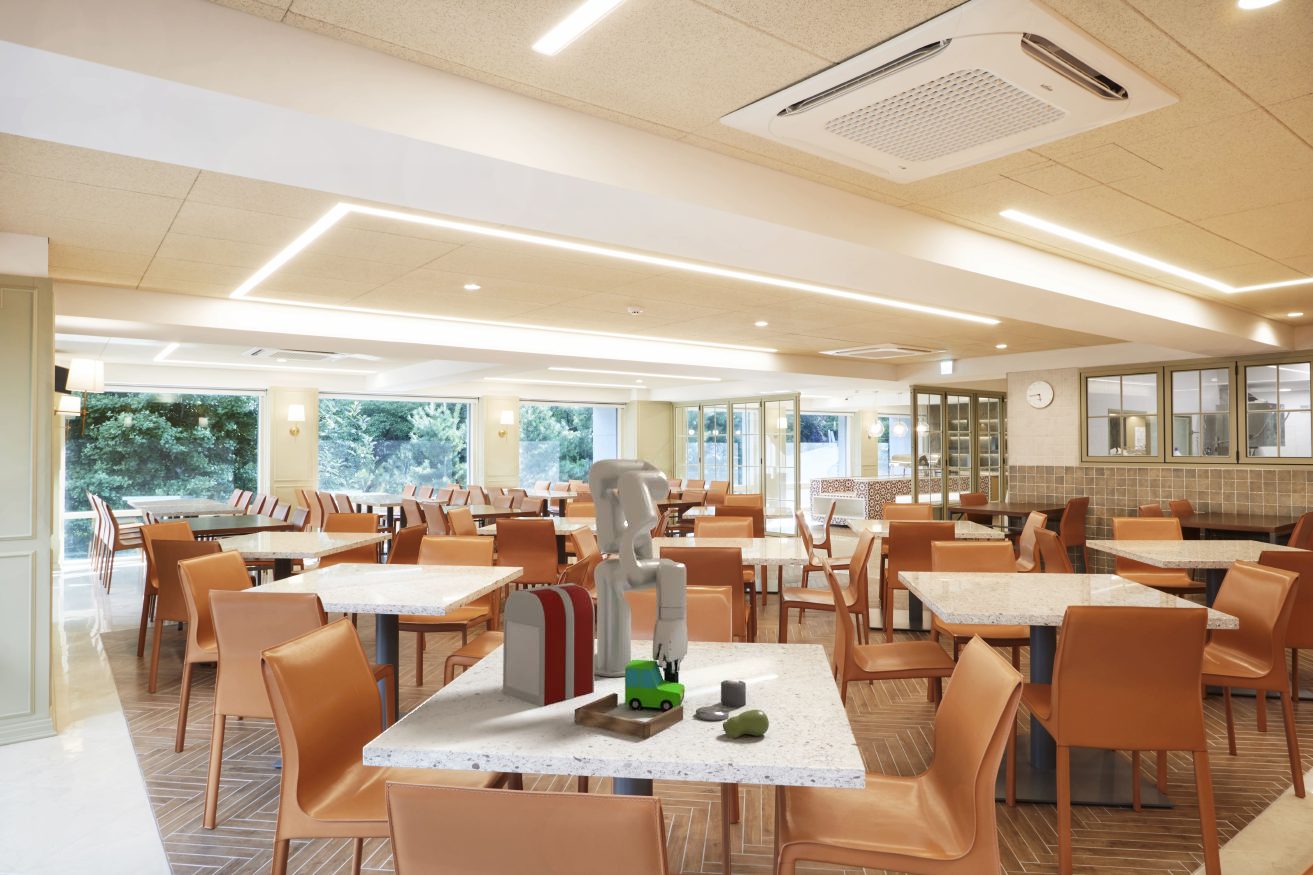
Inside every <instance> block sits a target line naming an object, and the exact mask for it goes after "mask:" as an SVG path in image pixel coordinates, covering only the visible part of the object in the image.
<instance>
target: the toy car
mask: <svg viewBox="0 0 1313 875" xmlns="http://www.w3.org/2000/svg"><path fill="white" fill-rule="evenodd" d="M684 685H685V684H684V683H680V682H679V683H674V682H669V681H665V680H664V677H663V674H662V672H661V670H660V667H658V660H649V659H648V660H646V659H645V660H644V659H631V662H630V663H629V664H628V665H627V666H626V667H625V676H624V706H627V707H629V708H630V709H631V710H632V711H634V712H637V711H640V710H641V709H642V707H643V708H660V710H661V711H662V713H664V712H666V711H668V710H670V709H672V708H674V707H676V706H678V705H680V706H682V703H683V701H684V699H685V692H686V687H685V686H684Z"/></svg>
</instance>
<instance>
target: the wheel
mask: <svg viewBox="0 0 1313 875" xmlns="http://www.w3.org/2000/svg"><path fill="white" fill-rule="evenodd" d="M746 687H747V683H746V682H744V681H743V680H738V679H731V678H730V679H728V680H727V679H726V680H722V681H721V682H720V705H721V706H723V707H725V708H735V709H737V708H743V707H745V706H746V705H747V704H746V701H747V699H746V698H747V695H746V693H747V692H746V691H747V690H746Z"/></svg>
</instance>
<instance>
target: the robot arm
mask: <svg viewBox="0 0 1313 875" xmlns="http://www.w3.org/2000/svg"><path fill="white" fill-rule="evenodd" d="M587 478H588V479H587V480H588V481H587V482H588V489H589V493H590V495H591V498H592V501H593V505H594V511H595V514H594V515H595V516H594V517H595V528H596V529H595V531H596V543H597V547H598V549H599V551H600V552H601V553H603V554H605V555H618V558H609V559H605V560H602V561H600V562H598V563H597V565H596V566H595V568H594V571H593V577H594V584H595V589H596V590H595V591H596V605H597V606H596V607H597V609H596V611H597V615H596V616H597V623H596V624H597V625H596V626H597V627H596V628H597V631H596V632H597V633H596V636H597V637H596V638H597V640H596V641H597V642H596V646H597V647H596V651H597V652H596V653H595V652H594V675H597V676H600V677H606V678H607V677H611V678H612V677H613V678H615V677H616V678H618V677H625V667H626V666H627V665H628V664H629V663H630V662H631V661H632V659H631V658H632V657H631V656H632V655H631V653H632V651H631V650H632V646H631V645H632V642H631V641H632V629H631V628H632V611H631V610H632V609H631V605H630V603H629V601H628V600H627V599H626V597H625V596H624V593H629V592H630V593H631V592H641V591H642V592H643V591H647V590H652V589H653V590H654V589H656V590H655V592H656V593H655V594H656V595H655V596H656V597H655V598H656V599H655V607H656V609H655V610H656V611H655V613H656V616H655V619H656V620H655V621H654V622H655V623H654V626H653V627H654V628H653V638H652V659H653V661H657V664H658V667H659V668H661V669H662V671H663V674H664V675H663V680H665V681H669V682H674V683H679V684H680V682H679V681H680V680H679V679H680V678H679V675H680V674H679V673H680V670H681V662H682V661H683V660H684V659H685V656H686V655H687V654H688V644H689V643H688V640H689V639H688V626H687V567H686V565H685V563H681V562H675V561H674V560H672V559H670V558H654V552H653V551H654V549H653V538H652V534H651V533H652V532H651V531H652V530H653V529H655V528H656V527H657V525H658V523H659V517H658V514H657V510H656V506H655V502H659V501H664V500H666V498H667V497H668V495H669V492H670V485H669V484H670V483H669V480H668V478H667V476H666V474H665V473H664V472H663V471H662V470H661V469H659V468H658V467H656V466H655V465H653V464H652V463H650V462H649V461H648V460H643V459H624V458H623V459H622V458H608V459H607V458H605V459H601V460H597V461H595V462H594V463H593V464H591V466H590V468H589V471H588V477H587ZM615 489H617V492H618V493H617V492H616V491H615ZM654 501H655V502H654Z"/></svg>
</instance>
